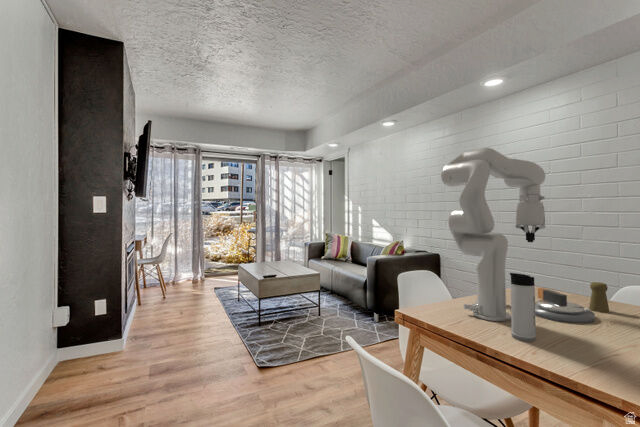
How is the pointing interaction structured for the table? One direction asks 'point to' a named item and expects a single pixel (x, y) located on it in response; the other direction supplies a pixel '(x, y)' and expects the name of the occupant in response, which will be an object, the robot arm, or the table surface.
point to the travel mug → (523, 307)
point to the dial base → (566, 316)
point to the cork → (599, 297)
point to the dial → (557, 302)
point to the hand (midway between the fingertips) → (530, 242)
